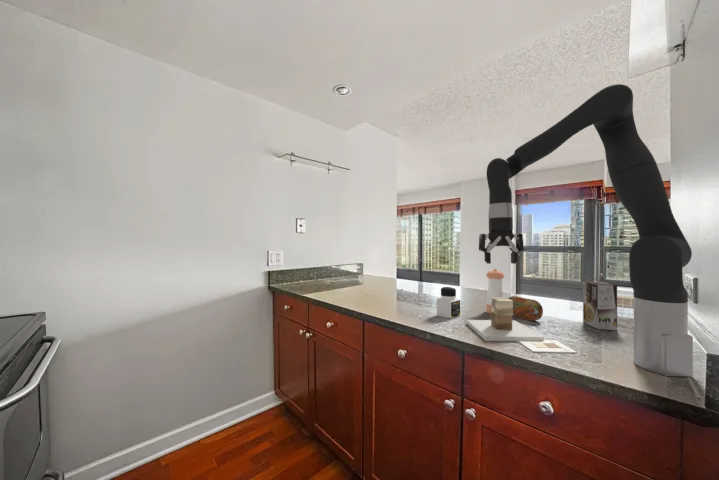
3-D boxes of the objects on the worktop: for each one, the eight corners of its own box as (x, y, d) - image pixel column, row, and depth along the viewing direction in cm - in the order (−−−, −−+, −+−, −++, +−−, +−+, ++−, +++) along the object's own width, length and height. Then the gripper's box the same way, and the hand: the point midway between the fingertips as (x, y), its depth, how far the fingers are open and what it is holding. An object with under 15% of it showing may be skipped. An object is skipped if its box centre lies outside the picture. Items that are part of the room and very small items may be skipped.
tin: (505, 313, 121) (505, 294, 121) (510, 313, 122) (510, 293, 122) (538, 323, 106) (538, 301, 106) (544, 322, 108) (544, 301, 108)
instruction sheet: (576, 353, 79) (576, 351, 79) (533, 352, 79) (533, 350, 79) (555, 341, 88) (555, 340, 88) (516, 340, 88) (516, 339, 88)
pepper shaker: (493, 315, 118) (493, 270, 118) (482, 310, 125) (482, 268, 125) (508, 314, 120) (508, 269, 120) (496, 310, 127) (496, 268, 127)
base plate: (543, 341, 88) (543, 337, 88) (485, 340, 88) (485, 336, 88) (514, 324, 106) (514, 320, 106) (466, 323, 106) (466, 319, 106)
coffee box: (618, 330, 98) (618, 284, 98) (597, 329, 99) (597, 284, 99) (601, 323, 107) (601, 281, 107) (582, 322, 108) (582, 280, 108)
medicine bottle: (451, 319, 113) (451, 289, 113) (436, 315, 118) (436, 287, 118) (460, 316, 117) (460, 287, 117) (445, 312, 123) (445, 285, 123)
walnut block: (512, 330, 94) (512, 315, 94) (497, 329, 95) (497, 315, 95) (505, 325, 99) (505, 311, 99) (491, 325, 100) (490, 311, 100)
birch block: (512, 315, 94) (512, 300, 94) (497, 315, 94) (497, 300, 94) (505, 311, 99) (505, 297, 99) (491, 311, 99) (491, 297, 99)
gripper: (483, 216, 94) (484, 264, 94) (527, 215, 93) (527, 264, 93) (475, 218, 101) (476, 262, 101) (515, 217, 100) (516, 262, 100)
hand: (500, 263), depth 97 cm, fingers open, 8 cm apart
